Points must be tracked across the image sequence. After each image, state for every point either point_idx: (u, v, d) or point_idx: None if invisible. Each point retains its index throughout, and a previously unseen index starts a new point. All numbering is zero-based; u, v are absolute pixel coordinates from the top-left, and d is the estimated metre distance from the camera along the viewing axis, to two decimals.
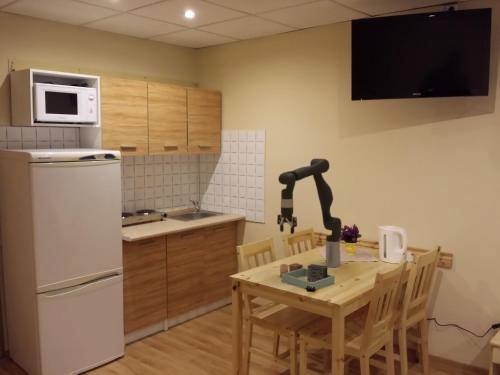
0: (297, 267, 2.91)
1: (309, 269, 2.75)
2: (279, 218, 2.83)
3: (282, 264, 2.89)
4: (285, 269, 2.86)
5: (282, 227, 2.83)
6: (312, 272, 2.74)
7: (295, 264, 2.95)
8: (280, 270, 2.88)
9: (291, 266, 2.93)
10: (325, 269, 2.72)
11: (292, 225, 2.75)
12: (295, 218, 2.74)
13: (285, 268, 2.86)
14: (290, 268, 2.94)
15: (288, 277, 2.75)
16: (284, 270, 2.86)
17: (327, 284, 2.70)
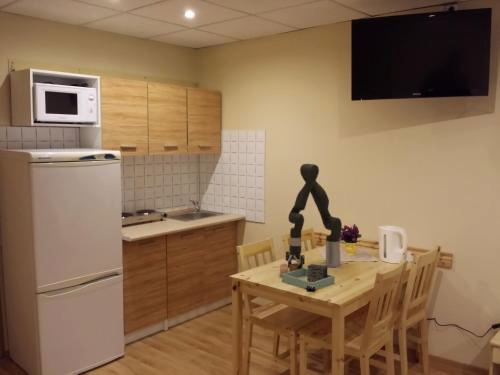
0: (297, 267, 2.91)
1: (309, 269, 2.75)
2: (287, 255, 2.98)
3: (282, 264, 2.89)
4: (285, 269, 2.86)
5: (290, 263, 2.97)
6: (312, 272, 2.74)
7: (295, 264, 2.95)
8: (280, 270, 2.88)
9: (291, 266, 2.93)
10: (325, 269, 2.72)
11: (300, 263, 2.90)
12: (303, 256, 2.89)
13: (285, 268, 2.86)
14: (290, 268, 2.94)
15: (288, 277, 2.75)
16: (284, 270, 2.86)
17: (327, 284, 2.70)
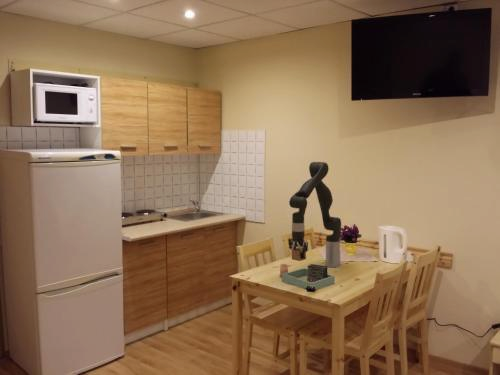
0: (300, 252, 2.73)
1: (309, 269, 2.75)
2: (290, 242, 2.80)
3: (282, 264, 2.89)
4: (285, 269, 2.86)
5: None
6: (312, 272, 2.74)
7: (298, 249, 2.77)
8: (280, 270, 2.88)
9: (293, 251, 2.76)
10: (325, 269, 2.72)
11: (302, 250, 2.73)
12: (306, 243, 2.71)
13: (285, 268, 2.86)
14: (292, 253, 2.77)
15: (288, 277, 2.75)
16: (284, 270, 2.86)
17: (327, 284, 2.70)
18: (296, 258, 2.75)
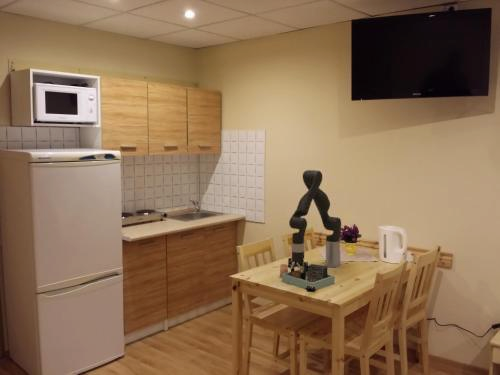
0: (300, 274, 2.75)
1: (309, 269, 2.75)
2: (290, 262, 2.81)
3: (282, 264, 2.89)
4: (285, 269, 2.86)
5: None
6: (312, 272, 2.74)
7: (298, 271, 2.79)
8: (280, 270, 2.88)
9: (293, 273, 2.77)
10: (325, 269, 2.72)
11: (303, 270, 2.73)
12: (306, 263, 2.72)
13: (285, 268, 2.86)
14: (292, 275, 2.78)
15: (288, 277, 2.75)
16: (284, 270, 2.86)
17: (327, 284, 2.70)
18: None
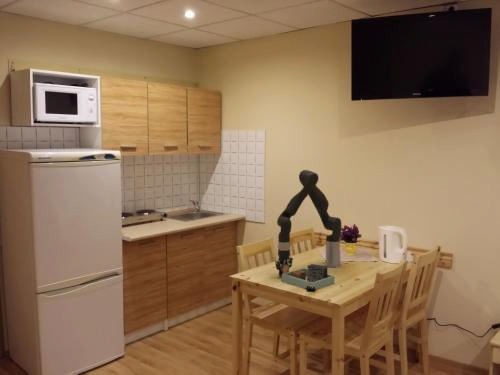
0: (300, 274, 2.75)
1: (309, 269, 2.75)
2: (288, 260, 2.92)
3: None
4: (285, 269, 2.86)
5: None
6: (312, 272, 2.74)
7: (298, 271, 2.79)
8: None
9: (293, 273, 2.77)
10: (325, 269, 2.72)
11: None
12: (276, 262, 2.83)
13: (285, 268, 2.86)
14: (292, 275, 2.78)
15: (288, 277, 2.75)
16: (284, 270, 2.86)
17: (327, 284, 2.70)
18: None
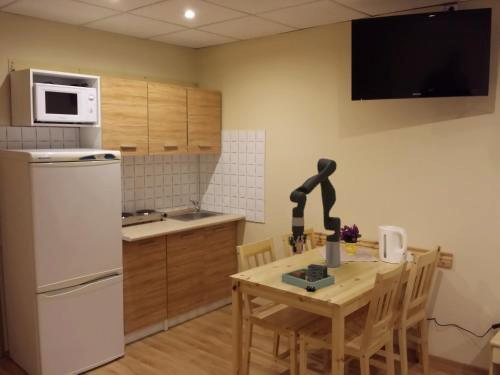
0: (300, 274, 2.75)
1: (309, 269, 2.75)
2: (302, 237, 2.85)
3: None
4: (299, 245, 2.79)
5: None
6: (312, 272, 2.74)
7: (298, 271, 2.79)
8: None
9: (293, 273, 2.77)
10: (325, 269, 2.72)
11: None
12: (290, 238, 2.77)
13: (299, 244, 2.79)
14: (292, 275, 2.78)
15: (288, 277, 2.75)
16: (298, 246, 2.79)
17: (327, 284, 2.70)
18: None
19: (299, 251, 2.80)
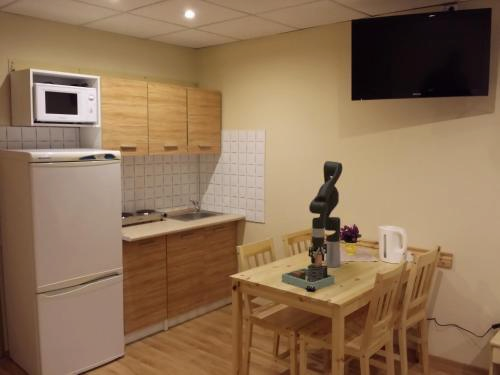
0: (300, 274, 2.75)
1: (309, 269, 2.75)
2: (323, 247, 2.78)
3: None
4: (319, 258, 2.72)
5: (322, 257, 2.77)
6: (312, 272, 2.74)
7: (298, 271, 2.79)
8: None
9: (293, 273, 2.77)
10: (325, 269, 2.72)
11: (311, 255, 2.71)
12: (310, 248, 2.69)
13: (319, 257, 2.72)
14: (292, 275, 2.78)
15: (288, 277, 2.75)
16: (318, 259, 2.72)
17: (327, 284, 2.70)
18: None
19: (319, 264, 2.73)
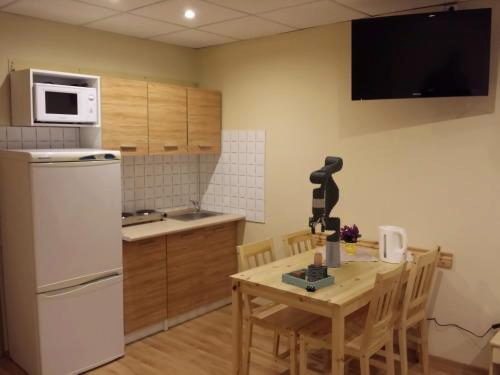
0: (300, 274, 2.75)
1: (309, 269, 2.75)
2: (323, 218, 2.76)
3: (316, 253, 2.74)
4: (319, 258, 2.72)
5: (322, 228, 2.75)
6: (312, 272, 2.74)
7: (298, 271, 2.79)
8: (314, 259, 2.74)
9: (293, 273, 2.77)
10: (325, 269, 2.72)
11: None
12: (310, 218, 2.67)
13: (319, 257, 2.72)
14: (292, 275, 2.78)
15: (288, 277, 2.75)
16: (318, 259, 2.72)
17: (327, 284, 2.70)
18: None
19: (319, 264, 2.72)
